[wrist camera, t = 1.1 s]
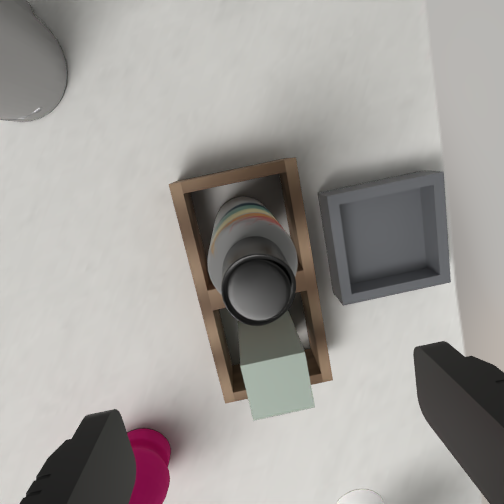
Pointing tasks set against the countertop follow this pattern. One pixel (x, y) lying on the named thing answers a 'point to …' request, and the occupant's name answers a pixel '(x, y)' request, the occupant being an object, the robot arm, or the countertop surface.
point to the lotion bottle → (252, 262)
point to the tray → (386, 236)
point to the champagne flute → (361, 497)
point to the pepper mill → (150, 466)
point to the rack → (213, 299)
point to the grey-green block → (274, 368)
